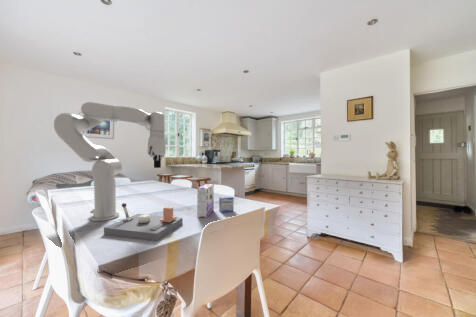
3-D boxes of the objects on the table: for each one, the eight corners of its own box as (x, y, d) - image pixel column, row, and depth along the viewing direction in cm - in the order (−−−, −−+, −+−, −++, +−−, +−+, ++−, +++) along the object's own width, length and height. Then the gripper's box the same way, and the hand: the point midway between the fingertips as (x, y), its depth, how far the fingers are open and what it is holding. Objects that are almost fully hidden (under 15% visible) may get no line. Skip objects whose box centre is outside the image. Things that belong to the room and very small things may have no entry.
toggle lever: (124, 219, 92) (120, 204, 92) (127, 217, 94) (123, 203, 94) (127, 218, 91) (123, 203, 92) (131, 216, 93) (126, 202, 94)
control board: (103, 234, 83) (103, 226, 83) (138, 219, 103) (138, 212, 103) (156, 241, 77) (156, 231, 77) (182, 223, 97) (182, 216, 97)
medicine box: (221, 213, 115) (221, 198, 115) (219, 210, 119) (219, 196, 119) (233, 211, 118) (233, 197, 118) (231, 209, 122) (231, 195, 122)
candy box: (204, 210, 120) (204, 183, 120) (213, 210, 120) (214, 184, 119) (197, 217, 107) (197, 187, 106) (207, 217, 106) (207, 187, 106)
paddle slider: (159, 221, 90) (159, 209, 89) (167, 217, 95) (167, 205, 95) (169, 222, 88) (169, 209, 88) (176, 218, 94) (176, 206, 94)
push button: (135, 222, 88) (135, 217, 88) (143, 219, 93) (143, 214, 93) (145, 223, 87) (145, 218, 87) (152, 220, 92) (152, 215, 92)
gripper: (159, 136, 116) (159, 166, 117) (141, 133, 102) (142, 168, 102) (170, 136, 115) (170, 167, 115) (154, 133, 100) (154, 168, 100)
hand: (157, 167), depth 109 cm, fingers closed
